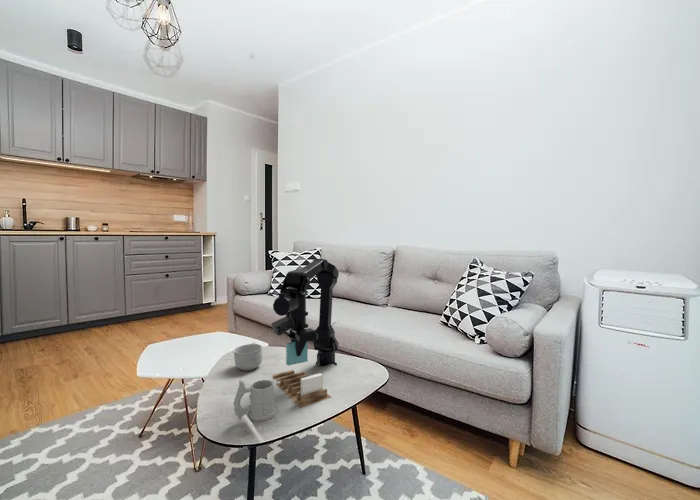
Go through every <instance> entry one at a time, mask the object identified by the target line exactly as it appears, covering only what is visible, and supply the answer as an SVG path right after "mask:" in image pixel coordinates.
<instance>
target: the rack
mask: <svg viewBox="0 0 700 500" xmlns="http://www.w3.org/2000/svg"><path fill="white" fill-rule="evenodd" d="M305 373H306V372H305V371H300V372H296V374H295V373H294V374H293V375H289V376H285V377H281V378H280V380H279V382H278V383H276V386H278V388H280V389H281V390H282V392H284V393H285V394H286V395H287V396H288V398H290V399H291V401H293V402H294V403H295V404H296V405H297V406H298V407H299V408H301V409H302V408H303V407H307V406H310V405H313V404H317V403H319V402H322V401H325V400H328V399H332V398H333V397H332V396H331V395H330V394H328V388H323V390H319V391H316V392H313V393H310V394H306V395H303V396H301V378H304V377H308V376H309V374H308V373H307V374H305Z"/></svg>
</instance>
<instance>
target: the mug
mask: <svg viewBox="0 0 700 500" xmlns="http://www.w3.org/2000/svg"><path fill="white" fill-rule="evenodd" d="M238 383H239V384H238V387H237V391H236V394H235V397H234V400H233V402H232V403H233V409H234V410H233V411H234V415H235V416H237V418H238V419H239V420H241V419H242V418H243V416H245V415H247V413H248V417H249V419H251V421H255V422H256V421H257V422H263V421H267V420H270V419H272V418H274V416H276V414H277V408H276V405H275V404H276V402H275V397H276V391H275V388H274V387H275V385H274V382H273V381H272V380H270V379H269V380H268V379H263V380H262V379H261V380H257V381H255V382H253V383H252V384H250V386H249V387H246V384H245V382H244V381H243V380H241V379H240V380H239V381H238ZM247 393H249V397H248V398H249V400H250V404H248V405H246V406H245V407H243V406H242V405H241V400H242V398H243V396H244V395H245V394H247Z"/></svg>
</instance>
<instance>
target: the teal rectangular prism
mask: <svg viewBox="0 0 700 500" xmlns="http://www.w3.org/2000/svg"><path fill="white" fill-rule="evenodd" d="M285 345H286V346H285V351H286V352H285V359H286V360H285V363H286V365H287V366H289V367H290V366H292V365H297V364H302V363H306V362H308V359H309V358H308V342H307V343H306V345H305V347H304V349H303V351H302V353H301V355H300V356H297V353H296V346H295V342H291V341H290V342H287V343H285Z"/></svg>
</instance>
